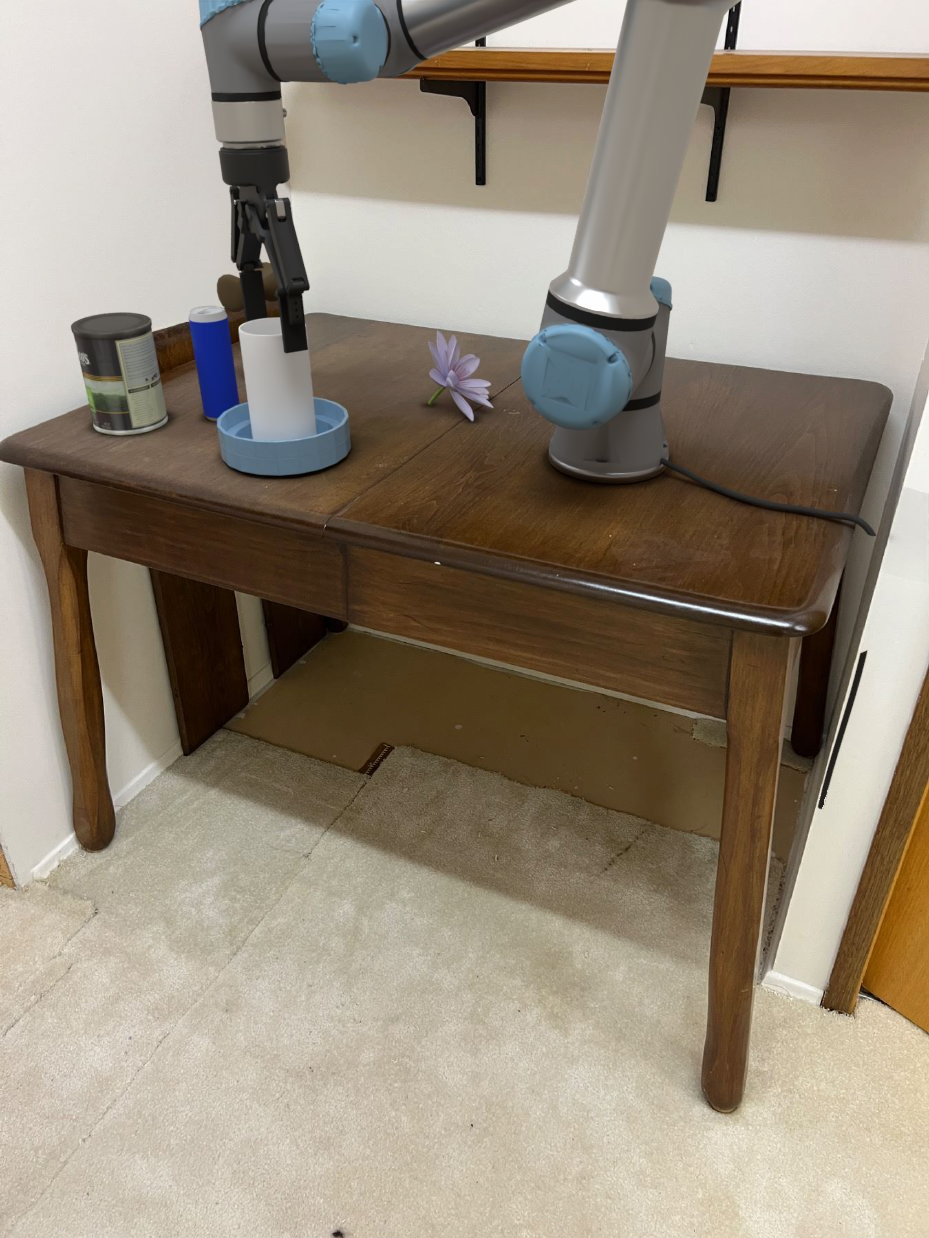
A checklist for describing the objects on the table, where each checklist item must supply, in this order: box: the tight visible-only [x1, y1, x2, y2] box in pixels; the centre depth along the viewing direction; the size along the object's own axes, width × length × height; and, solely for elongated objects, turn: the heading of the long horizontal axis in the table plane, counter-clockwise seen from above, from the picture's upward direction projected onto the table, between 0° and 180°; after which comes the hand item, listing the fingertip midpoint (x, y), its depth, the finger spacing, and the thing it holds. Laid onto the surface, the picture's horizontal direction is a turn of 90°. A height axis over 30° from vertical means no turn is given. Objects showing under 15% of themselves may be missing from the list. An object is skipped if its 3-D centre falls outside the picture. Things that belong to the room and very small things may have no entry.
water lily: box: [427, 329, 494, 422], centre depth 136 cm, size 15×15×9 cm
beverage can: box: [188, 305, 241, 422], centre depth 131 cm, size 5×5×15 cm
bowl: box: [216, 396, 352, 476], centre depth 122 cm, size 17×17×5 cm
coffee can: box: [70, 311, 169, 436], centre depth 129 cm, size 10×10×14 cm
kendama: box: [216, 261, 279, 313], centre depth 145 cm, size 6×10×20 cm, turn 149°
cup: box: [238, 317, 317, 441], centre depth 119 cm, size 8×8×16 cm
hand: (275, 337), depth 115 cm, fingers open, 13 cm apart
